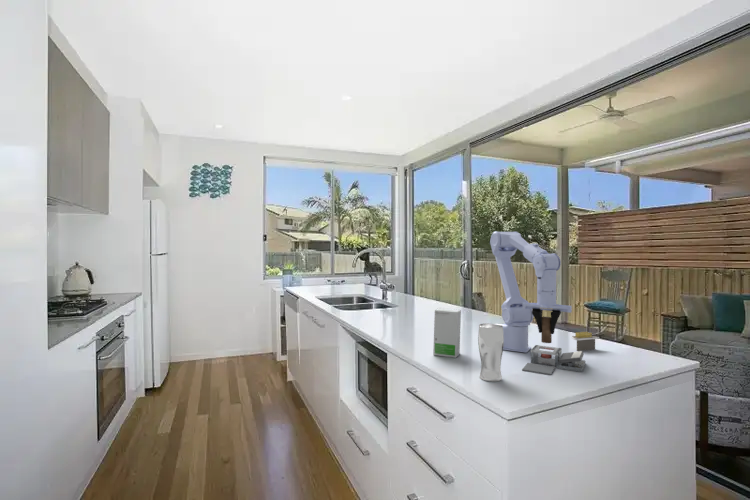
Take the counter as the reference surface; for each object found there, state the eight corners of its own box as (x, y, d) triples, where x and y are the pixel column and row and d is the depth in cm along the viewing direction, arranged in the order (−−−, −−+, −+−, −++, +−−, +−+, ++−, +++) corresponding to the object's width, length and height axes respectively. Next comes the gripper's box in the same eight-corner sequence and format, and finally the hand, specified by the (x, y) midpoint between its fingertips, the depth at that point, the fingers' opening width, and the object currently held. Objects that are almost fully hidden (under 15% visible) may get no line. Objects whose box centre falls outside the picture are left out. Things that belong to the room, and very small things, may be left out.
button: (540, 357, 130) (540, 352, 130) (541, 355, 133) (541, 350, 133) (550, 359, 128) (550, 354, 128) (552, 356, 131) (552, 351, 131)
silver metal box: (529, 364, 128) (529, 351, 128) (535, 356, 136) (535, 345, 136) (582, 372, 120) (582, 358, 120) (585, 363, 128) (585, 351, 128)
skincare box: (432, 355, 138) (433, 310, 138) (437, 350, 144) (437, 307, 144) (457, 358, 135) (457, 311, 134) (461, 353, 141) (461, 308, 141)
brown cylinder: (540, 342, 130) (540, 317, 130) (542, 340, 133) (542, 316, 133) (550, 343, 129) (550, 318, 128) (552, 341, 131) (552, 317, 131)
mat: (522, 370, 121) (522, 369, 121) (527, 363, 128) (527, 362, 128) (550, 375, 117) (550, 373, 117) (555, 368, 124) (555, 366, 124)
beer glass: (488, 383, 110) (489, 328, 109) (473, 376, 116) (473, 324, 116) (509, 380, 112) (509, 326, 112) (492, 373, 119) (492, 322, 119)
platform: (551, 348, 149) (551, 330, 149) (591, 345, 154) (591, 328, 154) (576, 357, 138) (576, 337, 138) (618, 353, 143) (618, 334, 143)
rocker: (559, 363, 123) (558, 359, 124) (563, 356, 131) (562, 352, 131) (580, 361, 120) (579, 357, 120) (583, 354, 128) (582, 350, 128)
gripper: (520, 290, 131) (520, 332, 131) (569, 293, 123) (569, 337, 123) (525, 288, 137) (525, 328, 137) (572, 291, 129) (572, 333, 129)
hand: (546, 332), depth 131 cm, fingers closed on brown cylinder, 3 cm apart
